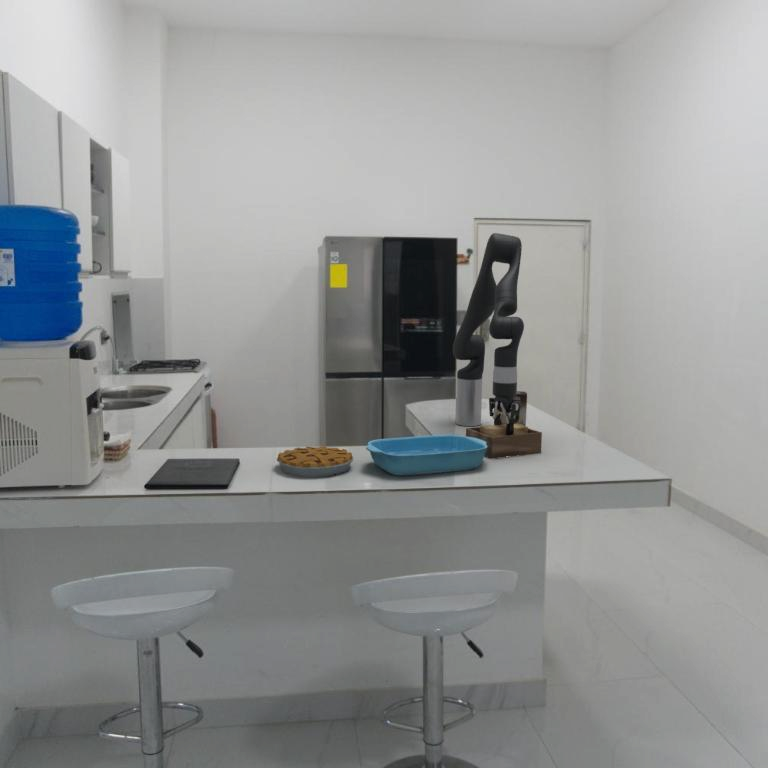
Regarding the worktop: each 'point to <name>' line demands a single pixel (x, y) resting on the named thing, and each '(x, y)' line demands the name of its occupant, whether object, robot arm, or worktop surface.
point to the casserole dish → (427, 454)
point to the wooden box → (509, 443)
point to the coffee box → (522, 400)
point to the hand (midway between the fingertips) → (503, 432)
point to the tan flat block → (502, 430)
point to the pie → (315, 461)
